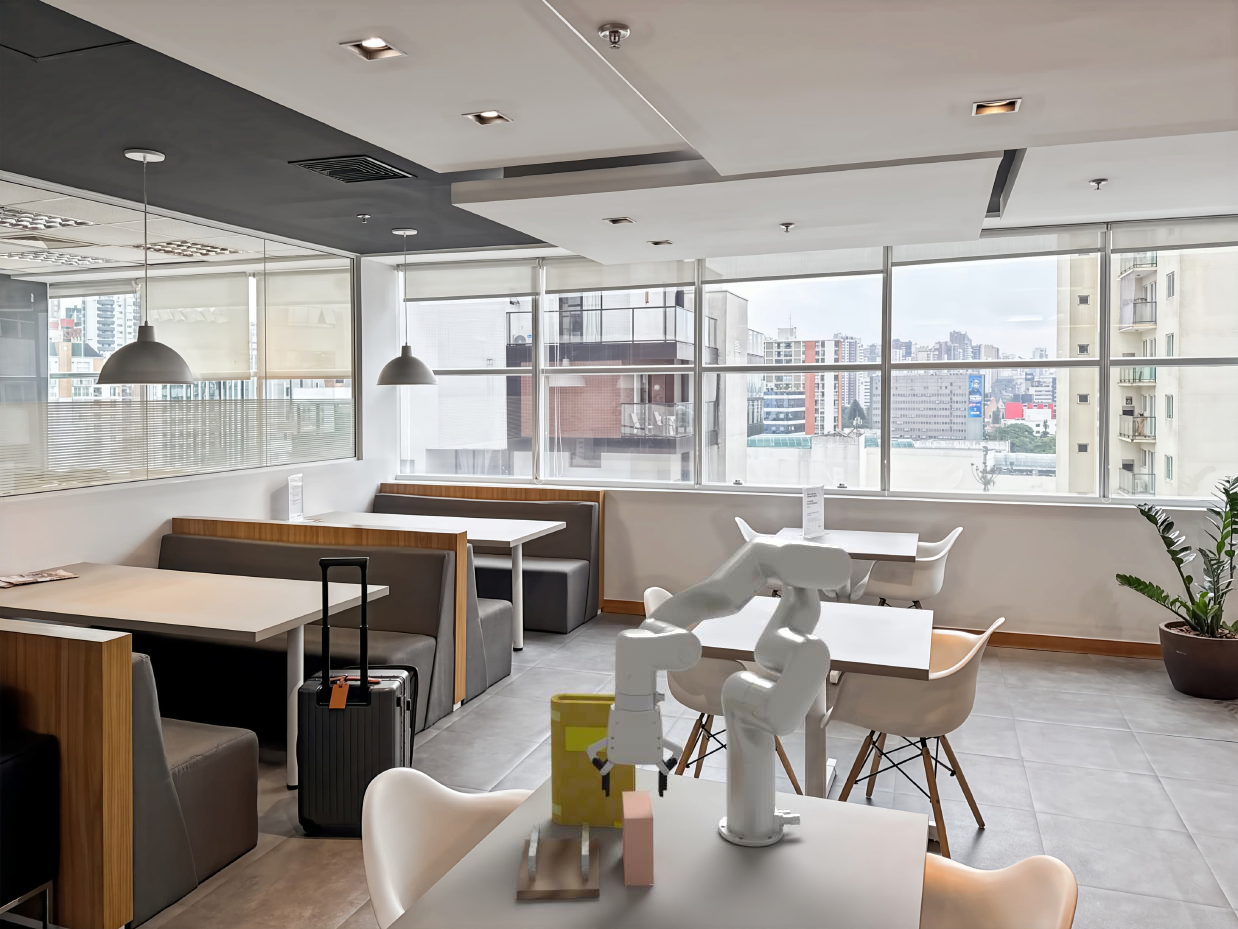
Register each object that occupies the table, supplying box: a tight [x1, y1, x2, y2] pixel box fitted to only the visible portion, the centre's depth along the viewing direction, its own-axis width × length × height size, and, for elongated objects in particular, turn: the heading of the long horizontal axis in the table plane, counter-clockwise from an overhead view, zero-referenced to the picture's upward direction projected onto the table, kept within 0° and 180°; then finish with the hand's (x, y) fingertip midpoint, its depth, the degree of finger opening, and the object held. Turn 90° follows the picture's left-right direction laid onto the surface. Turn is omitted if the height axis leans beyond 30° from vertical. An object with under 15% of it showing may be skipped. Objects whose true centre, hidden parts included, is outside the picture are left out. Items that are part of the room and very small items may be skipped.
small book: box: [622, 790, 655, 886], centre depth 155 cm, size 5×11×12 cm, turn 2°
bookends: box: [528, 822, 590, 881], centre depth 155 cm, size 10×12×4 cm
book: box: [550, 692, 637, 829], centre depth 174 cm, size 17×7×25 cm, turn 84°
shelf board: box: [516, 837, 600, 900], centre depth 155 cm, size 14×18×2 cm
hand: (634, 794), depth 154 cm, fingers open, 9 cm apart
